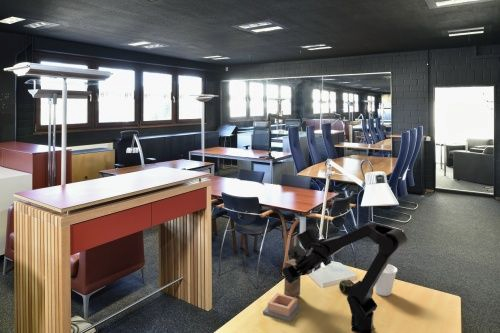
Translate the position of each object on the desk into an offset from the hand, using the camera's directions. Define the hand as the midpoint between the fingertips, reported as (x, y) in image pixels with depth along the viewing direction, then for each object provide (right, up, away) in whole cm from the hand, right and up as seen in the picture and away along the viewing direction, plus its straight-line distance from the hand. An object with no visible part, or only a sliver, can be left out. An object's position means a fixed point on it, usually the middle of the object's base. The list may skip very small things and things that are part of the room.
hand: (289, 277), depth 152 cm
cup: (+39, -8, +4) cm, 40 cm away
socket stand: (-4, -9, -11) cm, 15 cm away
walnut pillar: (+1, -7, 0) cm, 7 cm away
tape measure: (+25, -7, +6) cm, 27 cm away
